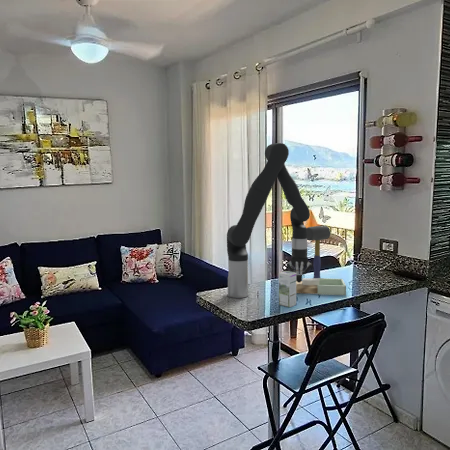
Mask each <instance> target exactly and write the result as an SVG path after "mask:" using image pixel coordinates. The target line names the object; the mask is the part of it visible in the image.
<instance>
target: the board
mask: <svg viewBox="0 0 450 450" xmlns="http://www.w3.org/2000/svg"><path fill="white" fill-rule="evenodd" d="M317 292H318V287H317V285H303V284H302V281H301V283H298V281H296V294H310V295H311V294H312V295H313V294H314V295H315V294H316V295H318V294H317Z"/></svg>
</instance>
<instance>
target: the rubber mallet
mask: <svg viewBox="0 0 450 450" xmlns="http://www.w3.org/2000/svg"><path fill="white" fill-rule="evenodd" d="M306 228H307V241H311V242H312V241H313V242H314V257H313V263H312V267H313V277H312V278H321V265H322V264H321V263H322V261H321V260H322V259H321V241H322V240H323V241H324V240H327V239H329V238H330V236H331V229H330V227H328V226H327V225H314V226H308V227H306Z"/></svg>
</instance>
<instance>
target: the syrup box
mask: <svg viewBox="0 0 450 450" xmlns="http://www.w3.org/2000/svg"><path fill="white" fill-rule="evenodd" d="M278 305H279V306H282V307H286V308H292V307H294V306H296V305H297V293H296V273H295V272H291V271H290V270H289V271H288V270H282V271H280V272H278Z"/></svg>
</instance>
